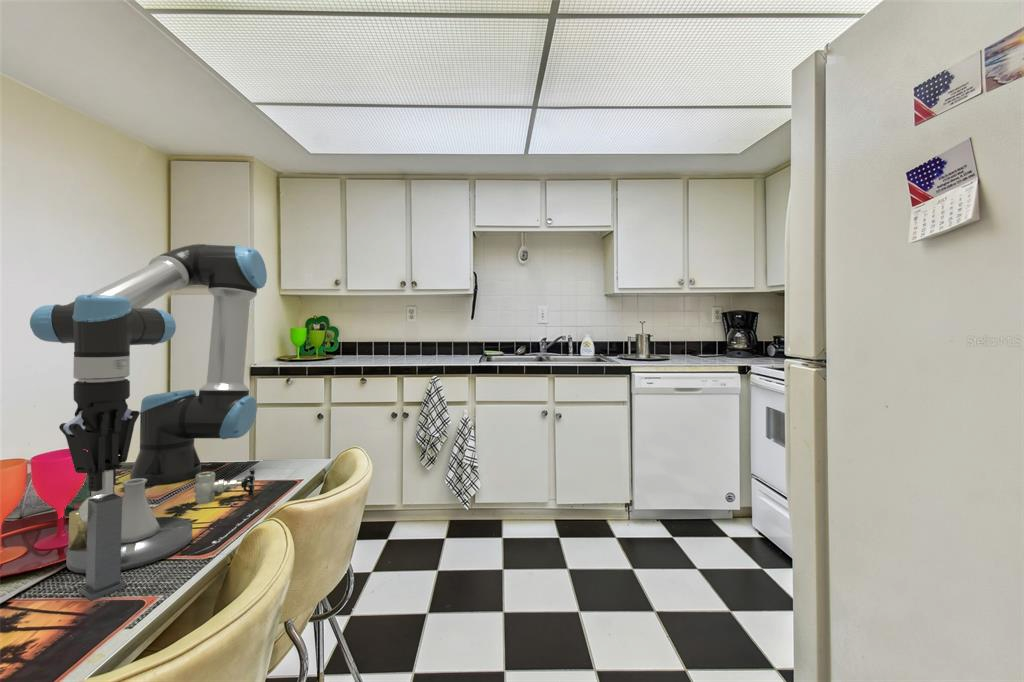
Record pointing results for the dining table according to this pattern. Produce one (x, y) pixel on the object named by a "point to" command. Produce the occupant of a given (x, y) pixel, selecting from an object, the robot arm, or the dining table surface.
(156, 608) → the dining table surface
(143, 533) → the flask
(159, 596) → the dining table surface
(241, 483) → the valve
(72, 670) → the dining table surface
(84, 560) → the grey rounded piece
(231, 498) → the dining table surface
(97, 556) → the post
